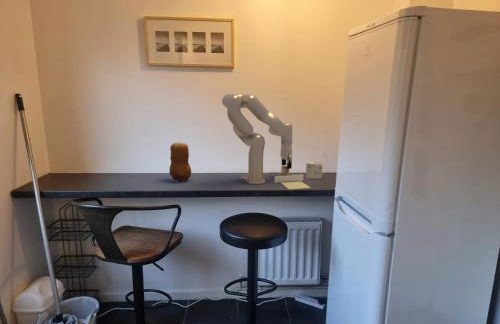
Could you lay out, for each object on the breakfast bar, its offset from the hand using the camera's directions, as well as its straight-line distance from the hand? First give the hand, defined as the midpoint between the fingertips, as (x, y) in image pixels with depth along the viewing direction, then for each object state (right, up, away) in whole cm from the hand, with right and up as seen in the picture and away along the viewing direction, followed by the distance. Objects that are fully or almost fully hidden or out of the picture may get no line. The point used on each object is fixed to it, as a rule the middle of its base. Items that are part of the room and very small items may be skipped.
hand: (286, 166), depth 210 cm
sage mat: (+4, -12, -16) cm, 20 cm away
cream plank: (+1, -9, -6) cm, 11 cm away
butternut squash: (-70, -9, -7) cm, 71 cm away
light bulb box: (+19, -8, +4) cm, 21 cm away
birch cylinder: (-1, -8, +1) cm, 8 cm away
